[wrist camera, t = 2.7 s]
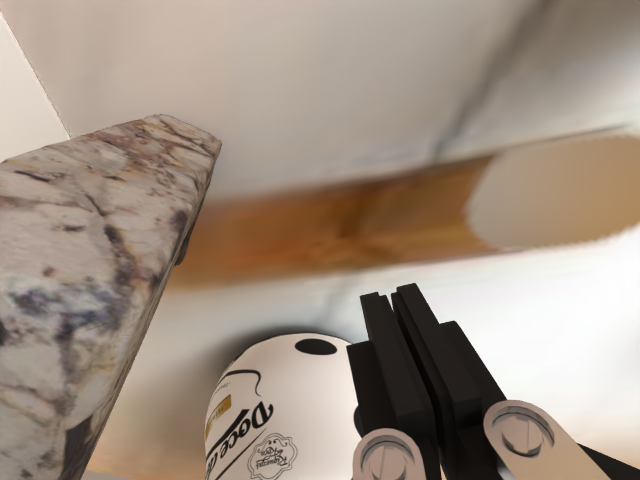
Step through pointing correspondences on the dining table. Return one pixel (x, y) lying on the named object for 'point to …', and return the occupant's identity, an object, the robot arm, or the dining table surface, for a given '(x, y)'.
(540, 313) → the dining table surface
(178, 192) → the stone block
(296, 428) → the milk container
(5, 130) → the mat
